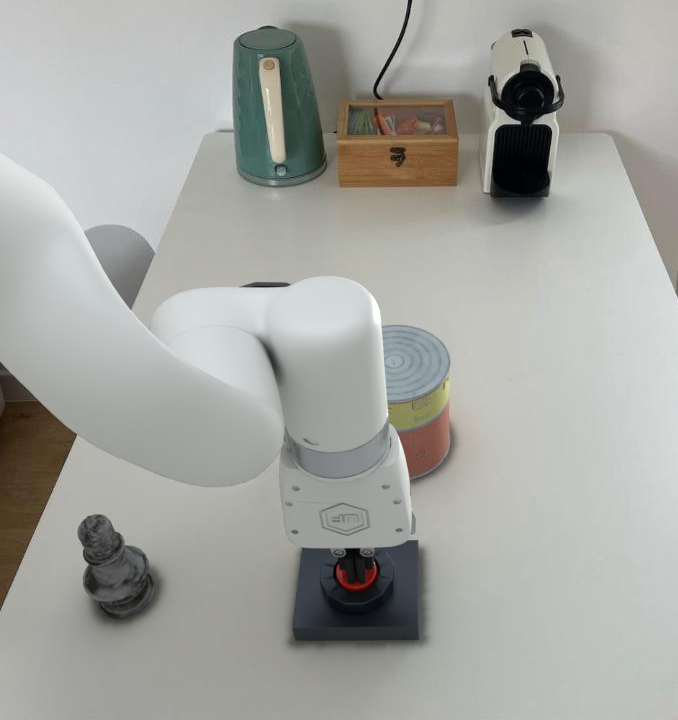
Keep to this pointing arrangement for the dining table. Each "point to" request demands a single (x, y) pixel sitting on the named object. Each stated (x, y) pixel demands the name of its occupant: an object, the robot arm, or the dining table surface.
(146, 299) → the dining table surface
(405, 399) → the canned food
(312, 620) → the button box
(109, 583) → the grey chess pawn
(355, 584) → the button
